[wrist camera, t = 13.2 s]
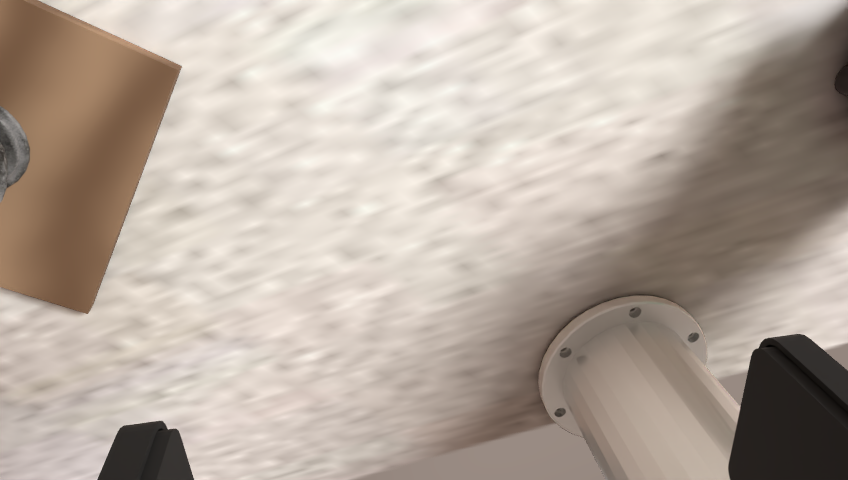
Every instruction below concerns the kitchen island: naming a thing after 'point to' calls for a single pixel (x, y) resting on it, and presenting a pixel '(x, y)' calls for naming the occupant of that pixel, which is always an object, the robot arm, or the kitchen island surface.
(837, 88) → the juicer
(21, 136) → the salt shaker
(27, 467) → the kitchen island surface
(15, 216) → the walnut board
